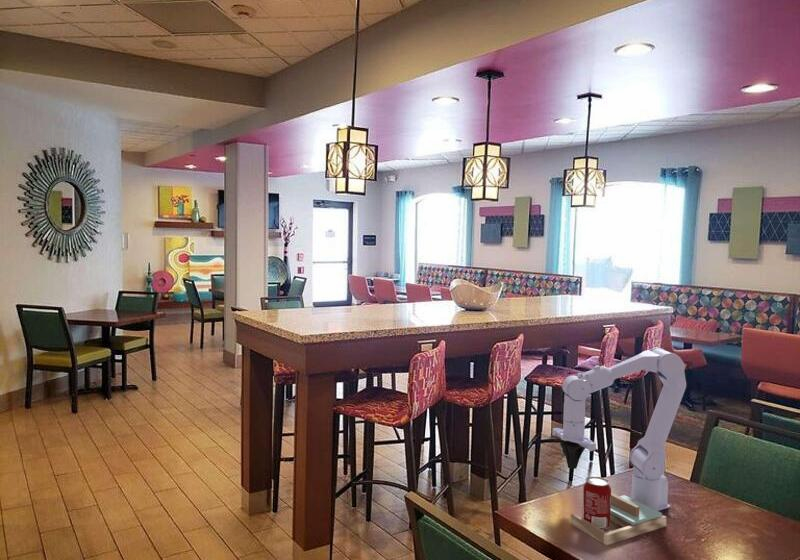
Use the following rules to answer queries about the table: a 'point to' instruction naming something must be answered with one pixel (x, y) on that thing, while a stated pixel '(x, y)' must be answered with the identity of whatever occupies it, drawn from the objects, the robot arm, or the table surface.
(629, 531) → the wooden frame
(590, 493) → the soda can
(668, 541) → the table surface
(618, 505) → the lid
